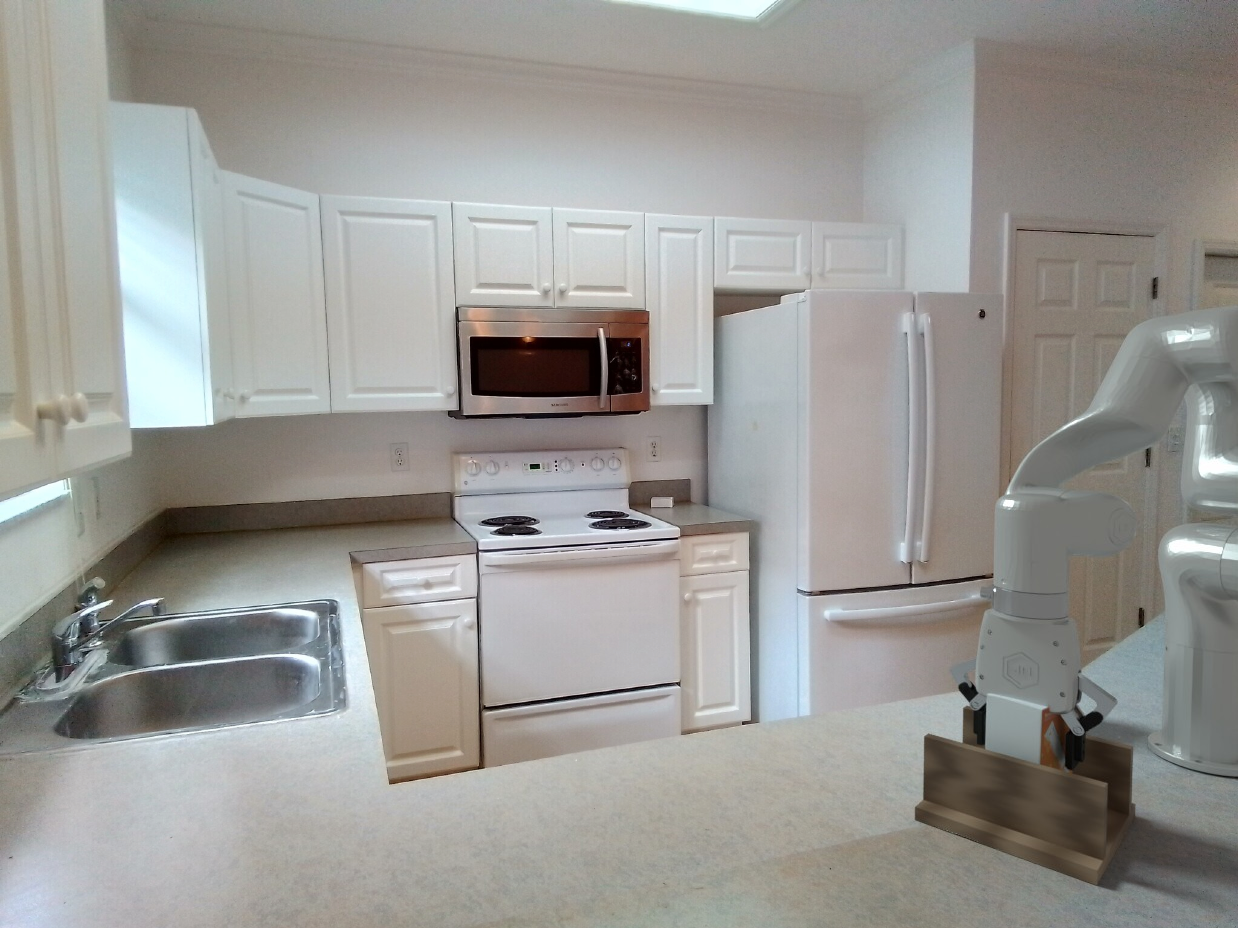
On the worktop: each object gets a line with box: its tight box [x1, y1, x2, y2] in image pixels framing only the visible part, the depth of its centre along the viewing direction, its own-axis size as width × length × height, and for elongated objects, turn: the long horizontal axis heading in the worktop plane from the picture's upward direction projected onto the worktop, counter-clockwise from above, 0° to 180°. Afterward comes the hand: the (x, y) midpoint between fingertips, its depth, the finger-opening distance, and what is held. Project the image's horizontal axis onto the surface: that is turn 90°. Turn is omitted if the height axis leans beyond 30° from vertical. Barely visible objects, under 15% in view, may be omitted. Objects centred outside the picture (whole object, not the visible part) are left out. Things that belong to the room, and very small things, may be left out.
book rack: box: [914, 705, 1137, 886], centre depth 86 cm, size 18×18×9 cm
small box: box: [985, 694, 1073, 773], centre depth 86 cm, size 8×6×13 cm
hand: (1026, 752), depth 86 cm, fingers open, 8 cm apart
